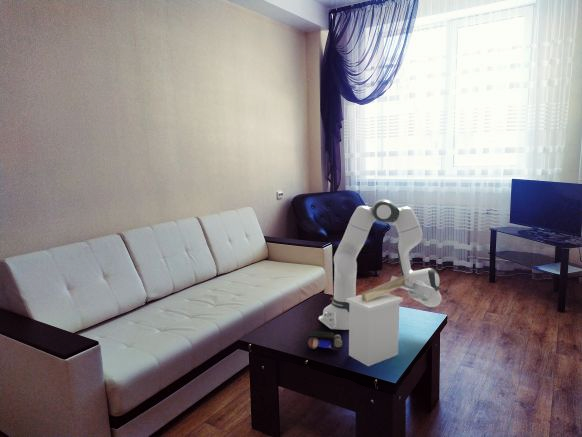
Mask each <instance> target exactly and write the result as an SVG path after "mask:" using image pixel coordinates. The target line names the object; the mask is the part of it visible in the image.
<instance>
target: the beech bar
mask: <svg viewBox="0 0 582 437" xmlns="http://www.w3.org/2000/svg"><path fill="white" fill-rule="evenodd" d="M403 280H407V281H409V279H408V277H406V276H402V275H401V276H399V277H398V278H396V279H394V280H392V281H390V280H389V281H387V282H384V283H383V284H379V285H378V286H375V287H374V288H371V289H368V290H367V291H364V292H362V293H361V295H362V300H364V301H366V302H368V301H370V300H373V299H375V298H377V297H379V296H382V295H384V294H386V293H391V292H392V291H395V290H397V289H400V288H399V287H402V286H404V285H405V284H403Z"/></svg>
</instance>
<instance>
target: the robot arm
mask: <svg viewBox="0 0 582 437" xmlns="http://www.w3.org/2000/svg"><path fill="white" fill-rule="evenodd" d="M376 221H377V222H380V223H393V224H394V225H395V227H396V228H395V229H396V230H397V235H398V242H397V244H396V252H397V258H398V263H399V268H400V273H401V276H406V277H408V279H409V281H407V280H403V284H405V285H404V286H402V287H399V288H398V289H402V290H406V291H407V295H408V296H409V298H411V299H412V300H415V301H417V302H419V303H420V304H422V305H423V306H427V307H430V308H436V307H438V306H439V305H440V304H441V302H442V300H443V298H442V295H441V293H440V290H439V289H440V288H441V287H440V286H441V276H440V274H439V273H438V272H437V270H436V269H434V268H433V267H428V268H423V269H422V268H421V269H417V270H413V269H412V267H411V260H410V257H409V256H410V255H409V254H410V251H411V250H412V249H414V248H415V247H416V246H417V245H419V244H420V243H421V241H422V239H423V229H422V227H421V224H420V222H419V219H418V216H416V214H415V212H414V210H413V209H412V208H411V207H410V206H400V207H397V206H395V204H394V203H393V201H392V200H390V199H388V198H381V199H379V200H377V201H376V202H374V203H373V204H372V205H371V206H367V205H359V206H357V207H356V208H355V210H354V212H353V214H352V216H351V217H350V219H349V222H348V224H347V227H346V229H345V232H344V234H343V237H342V239H341V241H339V242H340V243H339V244H338V247H337V249H336V251H335V253H334V256H333V264H334V274H333V275H334V276H333V279H334V280H333V296H332V297H331V298H330V301H331V303H330V304H329V305H327V306H326V307H324V309H323V311H322V315H319V317H318V320H319V321H320V322H321V323H322V324H323V325H325V326H326V327H328V328H329V329H330V330H341V331H342V330H344V331H346V330H348V331H349V303H348V302H346V298H350V297H354V296H356V294H357V293H356V285H357V284H356V283H357V274H358V273H357V272H358V269H357V268H358V263H357V258H358V255H359V253H360V252H361V250H362V248H363V247H364V245H365V243H366V240H367V238H368V236H369V233H370V230H371V228H372V226H373V224H374V223H375V222H376ZM396 278H399V277H398V276H395V275H391V278H390V280H389V281H392V280H394V279H396Z"/></svg>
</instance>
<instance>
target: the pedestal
mask: <svg viewBox="0 0 582 437" xmlns="http://www.w3.org/2000/svg"><path fill="white" fill-rule="evenodd" d="M346 302H348V303H349V330H348V334H349V335H348V356H349V357H351V358H352V359H354V360H356V361H358V362H360V363H362V364H363V365H365V366H367V367H370V366H374V365H375V364H379V363H381V362H383V361H386V360H388V359H390V358H393V357H396V356H398V355H399V334H400V333H399V329H400V328H399V327H400V303H403V302H404V298H403V297H400V296H398V295H394V294H392V293H390V292H388V293H386V294H384V295H382V296H379V297H377V298H375V299H373V300H370V301H368V302H366V301H364V300H362V294H358V295H355V296H354V297H350V298H346Z"/></svg>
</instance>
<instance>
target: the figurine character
mask: <svg viewBox="0 0 582 437" xmlns="http://www.w3.org/2000/svg"><path fill="white" fill-rule="evenodd" d="M308 337H309V339H308V340H307V344H308V347H309V348H310V349H317V347H319V348H323V349H325V348H326V349H330V350H334V351H336V350H338V349H337V348H340V347H342V345H343V340H342V336H341V335H340V334H335V332H334V331H323V330H322V331H321V330H309V333H308ZM318 338H320V339H318ZM324 339H332V341H331V340H324Z"/></svg>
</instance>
